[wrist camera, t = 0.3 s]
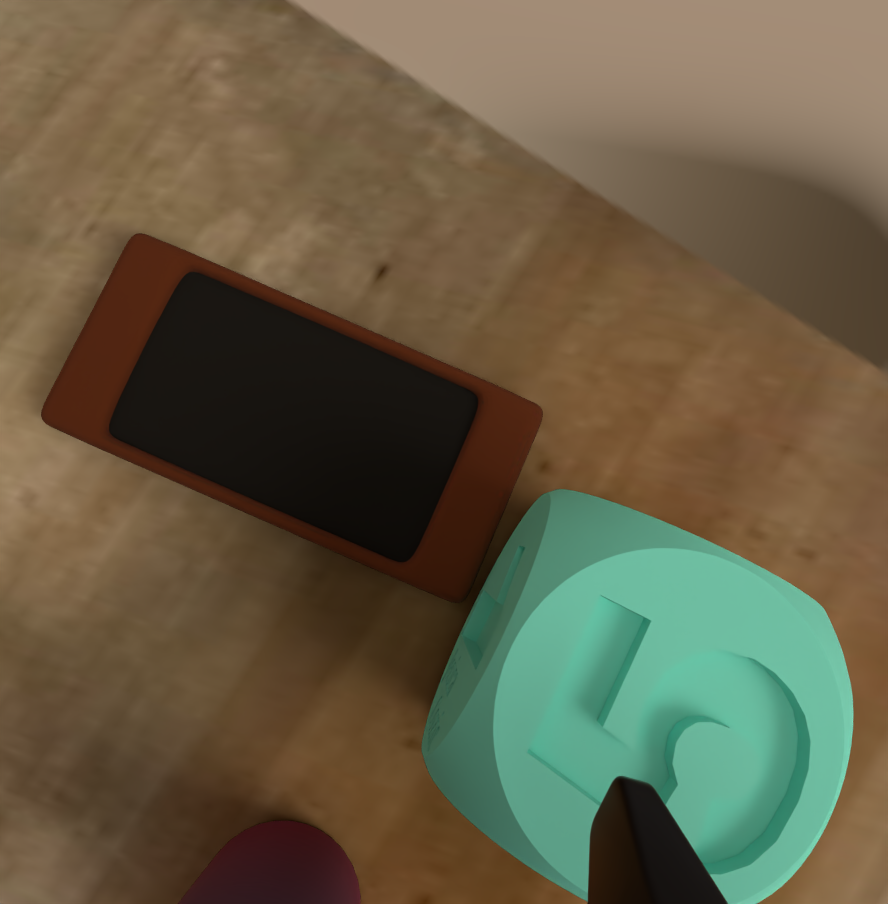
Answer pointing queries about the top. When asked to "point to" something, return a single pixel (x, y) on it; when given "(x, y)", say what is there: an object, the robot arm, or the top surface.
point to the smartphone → (295, 416)
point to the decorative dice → (641, 697)
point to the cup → (277, 869)
